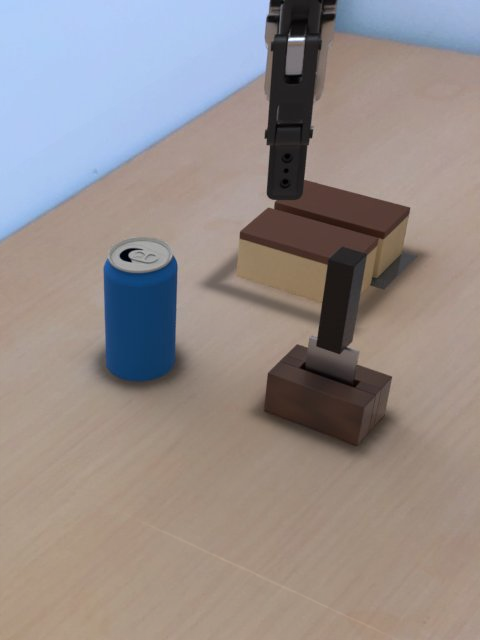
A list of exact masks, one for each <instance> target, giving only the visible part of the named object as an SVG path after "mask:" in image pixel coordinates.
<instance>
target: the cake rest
mask: <svg viewBox="0 0 480 640" xmlns="http://www.w3.org/2000/svg"><path fill="white" fill-rule="evenodd" d="M273 209H276V210H280V211H283V212H287V213H290V214H294V215H297V216H301V217H305V218H308V219H312V220H315V221H319V222H323V223H326V224H330V225H333V226H337V227H341V228H344V229H348V230H351V231H355V232H359V233H362V234H366V235H369V236H373V237H376V238H379V240H378V245H377V251H376V257H375V263H374V268H373V274H372V277H373V278H378V277H379V276H380V275H381V274H382V273H383V272H384V271H385V270H386V269H387V268H388V267H389V266H390V265H391V264H392V263H393V262H394V261H395V260H396V259H397V258H398V257H399V256H400V255H401V254H402V251H403V247H404V243H405V238H406V233H407V230H408V229H407V228H408V223H409V218H410V214H411V207H410V206H408V205H407V206H406V205H403V204H399V203H395V202H391V201H389V200H388V201H387V200H383V199H381V198H375V197H372V196H368V195H364V194H362V193H361V194H360V193H358V192H357V193H356V192H352V191H348V190H346V189H341V188H338V187H335V186H330V185H325V184H322V183H318V182H314V181H311V180H307V179H304V187H303V194H302V196H301V197H300V198H299V199H297V200H274V205H273Z"/></svg>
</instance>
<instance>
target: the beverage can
mask: <svg viewBox="0 0 480 640" xmlns="http://www.w3.org/2000/svg"><path fill="white" fill-rule="evenodd" d="M178 266H179V265H178V261H177V259H176V257H175V256H174V251H173V248H172V246H171V245H170V244H169V243H168V242H167V241H165V240H162V239H160V238H157V237H152V236H136V237H135V236H134V237H128V238H125V239H122V240H120V241H118V242H115V244H113V245H111V247H110V249H109V250H108V253H107V258H106V260H105V262H104V265H103V299H104V300H103V302H104V303H103V304H104V305H103V306H104V338H105V339H104V341H105V343H104V344H105V366H106V368H107V370H108V371H109V372H110V373H111V374H112V375H114V376H115V377H117V378H119V379H122V380H125V381H130V382H147V381H152V380H156V379H159V378H161V377H163V376H165V375H166V374H168V373H169V372H170V371H171V370H172V369H173V367H174V365H175V363H176V340H177V339H176V337H177V304H178V303H177V299H178V269H179V267H178Z"/></svg>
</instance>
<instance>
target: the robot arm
mask: <svg viewBox="0 0 480 640" xmlns="http://www.w3.org/2000/svg"><path fill="white" fill-rule="evenodd" d="M337 9H338V0H269V4H268V13H267V14H266V17H265V18H266V19H265V29H264V46H265V49H266V50H267V54H266V62H265V63H266V65H265V75H264V85H263V92H264V98H265V100H266V101H268V117H267V126H266V129H265V130H264V136H263V137H264V140H266V146H269V153H268V167H267V179H266V180H267V182H266V196H267V198H268V199H270V200H272V201H276V200H297V199H299V198H300V197H301V196H302V194H303V187H304V180H305V178H306V177H305V175H306V166H307V154H308V146H310V141H311V139H313V137H314V136H313V135H314V125H312V122H313V113H314V104H315V103H316V102H317V101H320V99H322V97H323V95H324V89H325V81H326V71H327V64H328V63H327V62H328V53H329V52H328V51H329V50H330V48H331V47H332V46H333V44H334V38H335V29H336V19H337V11H338V10H337Z"/></svg>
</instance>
